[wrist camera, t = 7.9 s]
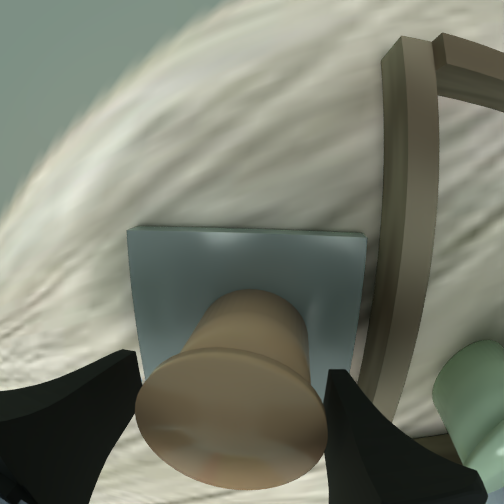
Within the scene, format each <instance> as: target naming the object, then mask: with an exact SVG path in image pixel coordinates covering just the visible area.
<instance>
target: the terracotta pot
mask: <svg viewBox="0 0 504 504" xmlns="http://www.w3.org/2000/svg"><path fill="white" fill-rule="evenodd" d="M135 416H136V421H137V425H138V428H139V430H140V432H141V434H142V436H143V438H144V439H145V441H146V443H147V444H148V445H149V447H150V448H151V449H152V450H153V451H154V452H155V453H156V454H157V455H158V456H159V457H160V458H161V459H162V460H163V461H164V462H166V463H167V464H168V465H170V466H171V467H172V468H174V469H175V470H177V471H179V472H181V473H182V474H184V475H186V476H188V477H190V478H192V479H195V480H197V481H200V482H203V483H205V484H209V485H213V486H216V487H221V488H226V489H235V490H260V489H267V488H272V487H277V486H280V485H284V484H287V483H289V482H291V481H294V480H296V479H298V478H299V477H301V476H303V475H304V474H306V473H307V472H308V471H310V470H311V469H312V468H313V467H314V466H315V465H316V464H317V463H318V461H319V460H320V458H321V457H322V455H323V453H324V451H325V449H326V445H327V440H328V429H327V418H326V412H325V408H324V405H323V403H322V400H321V398H320V397H319V395H318V394H317V392H316V390H315V389H314V388H313V387H312V386H311V375H310V358H309V342H308V332H307V327H306V325H305V322H304V320H303V318H302V316H301V315H300V313H299V312H298V311H297V309H296V308H295V307H294V306H293V305H292V304H290V303H289V302H288V301H286V300H285V299H283V298H282V297H280V296H278V295H276V294H273V293H271V292H267V291H264V290H257V289H243V290H237V291H233V292H230V293H227V294H225V295H223V296H221V297H220V298H218V299H217V300H216V301H214V302H213V303H212V304H211V305H210V306H209V308H208V309H207V310H206V312H205V313H204V315H203V316H202V318H201V320H200V321H199V323H198V324H197V326H196V328H195V329H194V331H193V332H192V334H191V336H190V337H189V339H188V341H187V342H186V344H185V345H184V347H183V349H182V350H181V352H180V353H179V354H177V355H174V356H172V357H170V358H168V359H167V360H165V361H163V362H162V363H161V364H160V365H158V366H157V367H156V368H155V369H154V370H153V372H152V373H151V374H150V376H149V377H148V378H147V380H146V381H145V383H144V384H143V386H142V387H141V389H140V391H139V393H138V395H137V399H136V403H135Z"/></svg>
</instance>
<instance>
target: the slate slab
mask: <svg viewBox="0 0 504 504" xmlns="http://www.w3.org/2000/svg"><path fill="white" fill-rule="evenodd" d="M367 239H368V238H367V237H366V236H365V235H364V234H363V233H351V232H328V231H304V230H277V229H245V228H207V227H153V226H136V227H134V228H131V229H128V230H127V243H128V256H129V267H130V278H131V287H132V296H133V304H134V312H135V319H136V327H137V333H138V340H139V346H140V352H141V358H142V364H143V369H144V375H145V380H147V378H148V377H149V376H150V374H151V373H152V372H153V370H154V369H155V368H156V367H157V366H158V365H160V364H161V363H162V362H163V361H165V360H167V359H168V358H170V357H172V356H174V355H177V354H179V353H180V352H181V350H182V349H183V347H184V345H185V344H186V342H187V341H188V339H189V337H190V336H191V334H192V332H193V331H194V329H195V328H196V326H197V324H198V323H199V321H200V320H201V318H202V316H203V315H204V313H205V312H206V310H207V309H208V308H209V306H210V305H211V304H212V303H213V302H214V301H216V300H217V299H218V298H220V297H221V296H223V295H225V294H227V293H230V292H233V291H237V290H243V289H257V290H264V291H267V292H271V293H273V294H276V295H278V296H280V297H282V298H283V299H285V300H286V301H288V302H289V303H290V304H292V305H293V306H294V307H295V308H296V309H297V311H298V312H299V313H300V315H301V316H302V318H303V320H304V322H305V325H306V327H307V332H308V342H309V358H310V375H311V386H312V387H313V388H314V389H315V390H316V392H317V394H318V395H319V397H320V398H321V400H322V403H323V401H324V395H325V389H326V383H327V377H328V370H329V369H346V370H347V371H348V373H349V372H350V367H351V361H352V356H353V350H354V344H355V338H356V332H357V325H358V318H359V311H360V304H361V296H362V288H363V280H364V271H365V261H366V250H367Z"/></svg>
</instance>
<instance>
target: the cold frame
mask: <svg viewBox="0 0 504 504" xmlns="http://www.w3.org/2000/svg"><path fill="white" fill-rule="evenodd" d="M381 68H382V84H383V106H384V176H383V200H382V216H381V230H380V242H379V252H378V262H377V271H376V279H375V287H374V295H373V302H372V309H371V315H370V321H369V328H368V333H367V339H366V345H365V350H364V355H363V361H362V366H361V370H360V375H359V380H358V384H357V385H358V386H359V387H360V389H361V390H362V391H363V392H364V394H365V395H366V396H367V397H368V399H369V400H370V401H371V402H372V403H373V404H374V406H375V407H376V408H377V409H378V410H379V411H380V412H381V413H382V414H383V415H384V416H385V417H386V418H387V419H388V420H389V421H390V422H391V423H392V421H393V418H394V415H395V412H396V409H397V406H398V403H399V400H400V397H401V394H402V391H403V387H404V384H405V381H406V377H407V374H408V370H409V367H410V363H411V359H412V355H413V351H414V348H415V343H416V339H417V335H418V331H419V326H420V322H421V317H422V312H423V307H424V302H425V297H426V291H427V286H428V280H429V273H430V267H431V260H432V252H433V244H434V235H435V226H436V214H437V201H438V183H439V114H438V96H437V95H439V96H444V97H448V98H453V99H457V100H461V101H465V102H469V103H473V104H477V105H481V106H484V107H488V108H492V109H495V110H498V111H502V112H504V53H503V52H500V51H497V50H495V49H492V48H489V47H487V46H484V45H481V44H478V43H475V42H472V41H469V40H466V39H463V38H460V37H456V36H453V35H449V34H446V33H441V34H440V35H439V36H438V37H437V38H436V39H435V40H433V41H432V42H429V41H425V40H420V39H416V38H411V37H406V36H401V37H400V38H399V39H398V40H397V42H396V43H395V44H394V45H393V47H392V48H391V49H390V50H389V52H388V53H387V54H386V55H385V57H384V58H383V59H382V60H381ZM413 440H414V441H416V442H417V443H419V444H420V445H422V446H423V447H425V448H427V449H428V450H430V451H432V452H434V453H436V454H438V455H440V456H442V457H444V458H446V459H448V460H450V461H452V462H455V463H457V464H460V465H463V464H462V462H461V459H460V457H459V455H458V453H457V450H456V448H455V446H454V444H453V442H452V440H451V437H450V435H449V434H444V435H438V436H431V437H424V438H417V439H413Z"/></svg>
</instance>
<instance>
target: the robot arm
mask: <svg viewBox="0 0 504 504" xmlns="http://www.w3.org/2000/svg"><path fill="white" fill-rule="evenodd" d="M141 387H142V382H141V377H140V372H139V367H138V361H137V356H136V352H135V351H130V350H124V349H122V350H119V351H116V352H114V353H112V354H110V355H108V356H105V357H103V358H101V359H99V360H97V361H95V362H93V363H91V364H89V365H87V366H85V367H83V368H80V369H78V370H76V371H74V372H71V373H69V374H66V375H64V376H62V377H59V378H57V379H54V380H51V381H48V382H45V383H41V384H38V385H34V386H29V387H25V388H20V389H15V390H7V391H0V504H89V501H90V498H91V495H92V492H93V490H94V487H95V485H96V482H97V480H98V477H99V475H100V473H101V470H102V468H103V466H104V464H105V461H106V459H107V457H108V456H109V454H110V452H111V450H112V449H113V447H114V446H115V444H116V442H117V441H118V439H119V438H120V436H121V435H122V433H123V431H124V430H125V428H126V427H127V425H128V423H129V422H130V420H131V419H132V417H133V415H134V414H135V403H136V399H137V395H138V393H139V391H140V389H141ZM323 405H324V408H325V412H326V418H327V429H328V440H327V445H326V449H325V451H324V454H325V461H326V469H327V476H328V486H329V504H504V487H503V488H501V489H499V490H496V491H494V492H491V493H487V491H486V488H485V486H484V483H483V481H482V479H481V477H480V475H479V473H478V472H477V470H474V469H471V468H468V467H466V466H463V465H460V464H457V463H455V462H452V461H450V460H448V459H446V458H444V457H442V456H440V455H438V454H436V453H434V452H432V451H430V450H428V449H427V448H425V447H423V446H422V445H420V444H419V443H417V442H416V441H414V440H413V439H411V438H410V437H409V436H407V435H406V434H405V433H403V432H402V431H401V430H400V429H398V428H397V427H396V426H395V425H393V424H392V423H391V422H390V421H389V420H388V419H387V418H386V417H385V416H384V415H383V414H382V413H381V412H380V411H379V410H378V409H377V408H376V407H375V406H374V404H373V403H372V402H371V401H370V400H369V399H368V397H367V396H366V395H365V394H364V392H363V391H362V390H361V389H360V387H359V386H358V385H357V383H356V382H355V381H354V379H353V378H352V377H351V375H350V374H349V373H348V371H347V370H346V369H329V370H328V377H327V383H326V389H325V395H324V401H323Z"/></svg>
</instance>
